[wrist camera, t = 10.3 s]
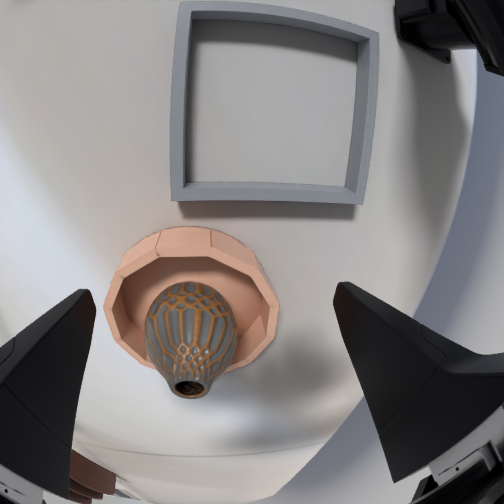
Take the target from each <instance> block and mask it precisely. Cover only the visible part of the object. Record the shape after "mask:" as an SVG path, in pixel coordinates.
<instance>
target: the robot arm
mask: <svg viewBox="0 0 504 504" xmlns="http://www.w3.org/2000/svg"><path fill="white" fill-rule="evenodd" d="M395 2H396V16H397V35H398V37H399V39H400V40H401V41H403V42H405V43H407V44H409V45H412V46H414V47H416V48H418V49H420V50H422V51H424V52H425V53H427V54H429V55H431V56H433V57H435V58H436V59H438V60H440V61H442V62H443V63H445V64H449V63H450V62H451V53H450V50H460V49H477V50H478V52H479V54H480V56H481V58H482V60H483V62H484V67H485V69H486V71H489V72H492V73H495V74H498V75H501V76H504V0H395ZM402 34H403V35H404V37H403V35H402ZM333 306H334V310H335V313H336V317H337V320H338V324H339V327H340V331H341V335H342V338H343V341H344V343H345V346H346V348H347V351H348V353H349V356H350V359H351V361H352V364H353V366H354V369H355V371H356V374H357V377H358V379H359V382H360V385H361V387H362V390H363V393H364V395H365V398H366V401H367V404H368V406H369V409H370V412H371V415H372V417H373V421H374V423H375V426H376V429H377V432H378V435H379V439H380V441H381V445H382V448H383V451H384V454H385V457H386V460H387V463H388V467H389V470H390V473H391V476H392V480H393V482H394V483H396V482H398V481H400V480H403V479H405V478H407V477H409V476H411V475H413V474H415V473H416V472H418V471H420V470H422V469H424V468H426V467H427V466H429V469H430V471H431V473H432V474H431V475H429V476H428V477H426V478H424V479H422V480H421V481H420V483H419V485H418V488H417V490H416V492H415V494H414V497H413V499H412V501H411V503H409V504H504V353H498V354H491V355H482V354H477V353H475V352H472V351H470V350H469V349H467V348H465V347H463V346H461V345H459V344H457V343H455V342H453V341H451V340H449V339H447V338H445V337H443V336H442V335H440V334H438V333H436V332H434V331H433V330H431V329H429V328H428V327H426V326H424V325H423V324H420V323H419V322H417V321H416V320H414V319H412V318H411V317H409V316H407V315H406V314H404V313H402V312H401V311H399V310H397V309H396V308H394V307H392V306H390V305H389V304H387V303H385V302H384V301H382V300H380V299H378V298H377V297H375V296H373V295H372V294H370V293H368V292H366V291H365V290H363V289H361V288H359V287H358V286H356V285H354V284H352V283H351V282H339V283H338V285H337V288H336V291H335V295H334V299H333ZM95 317H96V306H95V303H94V300H93V297H92V295H91V292H90V290H88V289H78V290H77V291H75V292H74V293H73V294H71V295H70V296H68V297H67V298H65V299H64V300H63V301H61V302H60V303H58V304H57V305H56V306H54V307H53V308H51V309H50V310H49V311H47V312H46V313H45V314H43V315H42V316H41V317H39V318H38V319H37V320H35V321H34V322H33V323H31V324H30V325H29V326H27V327H26V328H25V329H23V330H22V331H21V332H20V333H18V334H17V335H16V336H15V337H13V338H12V339H11V340H9V341H8V342H7V343H6V344H4V345H3V346H2V347H0V504H46V502H45V501H44V500H43V499H42V498H43V490H44V491H47V492H49V493H51V494H54V495H56V496H59V497H62V498H64V499H67V500H69V478H70V462H71V448H72V440H73V432H74V424H75V418H76V411H77V406H78V400H79V395H80V390H81V385H82V380H83V375H84V371H85V367H86V363H87V359H88V355H89V350H90V346H91V340H92V334H93V328H94V322H95Z"/></svg>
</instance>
